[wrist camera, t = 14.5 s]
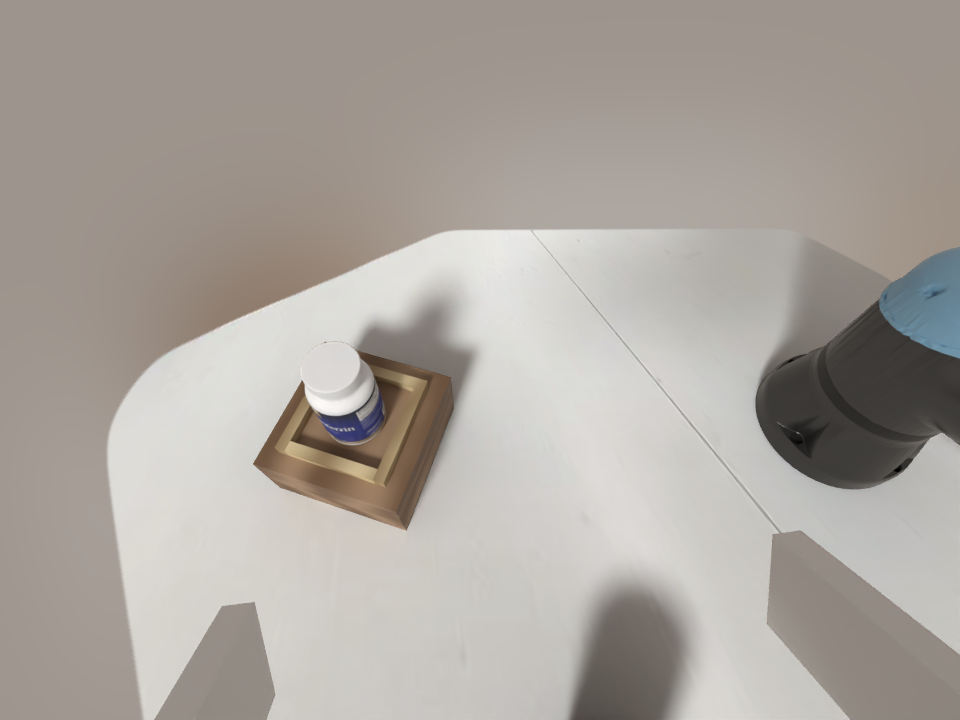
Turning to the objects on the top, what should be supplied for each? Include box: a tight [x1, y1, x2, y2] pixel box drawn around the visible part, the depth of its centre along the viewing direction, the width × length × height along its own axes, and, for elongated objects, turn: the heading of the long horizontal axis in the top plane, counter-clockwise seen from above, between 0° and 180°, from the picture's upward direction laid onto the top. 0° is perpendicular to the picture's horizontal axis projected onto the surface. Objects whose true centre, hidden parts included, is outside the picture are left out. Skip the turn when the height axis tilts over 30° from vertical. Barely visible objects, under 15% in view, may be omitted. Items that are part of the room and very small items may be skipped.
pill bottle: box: [300, 341, 386, 445], centre depth 42 cm, size 6×6×10 cm
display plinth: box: [253, 342, 454, 530], centre depth 49 cm, size 14×14×8 cm
